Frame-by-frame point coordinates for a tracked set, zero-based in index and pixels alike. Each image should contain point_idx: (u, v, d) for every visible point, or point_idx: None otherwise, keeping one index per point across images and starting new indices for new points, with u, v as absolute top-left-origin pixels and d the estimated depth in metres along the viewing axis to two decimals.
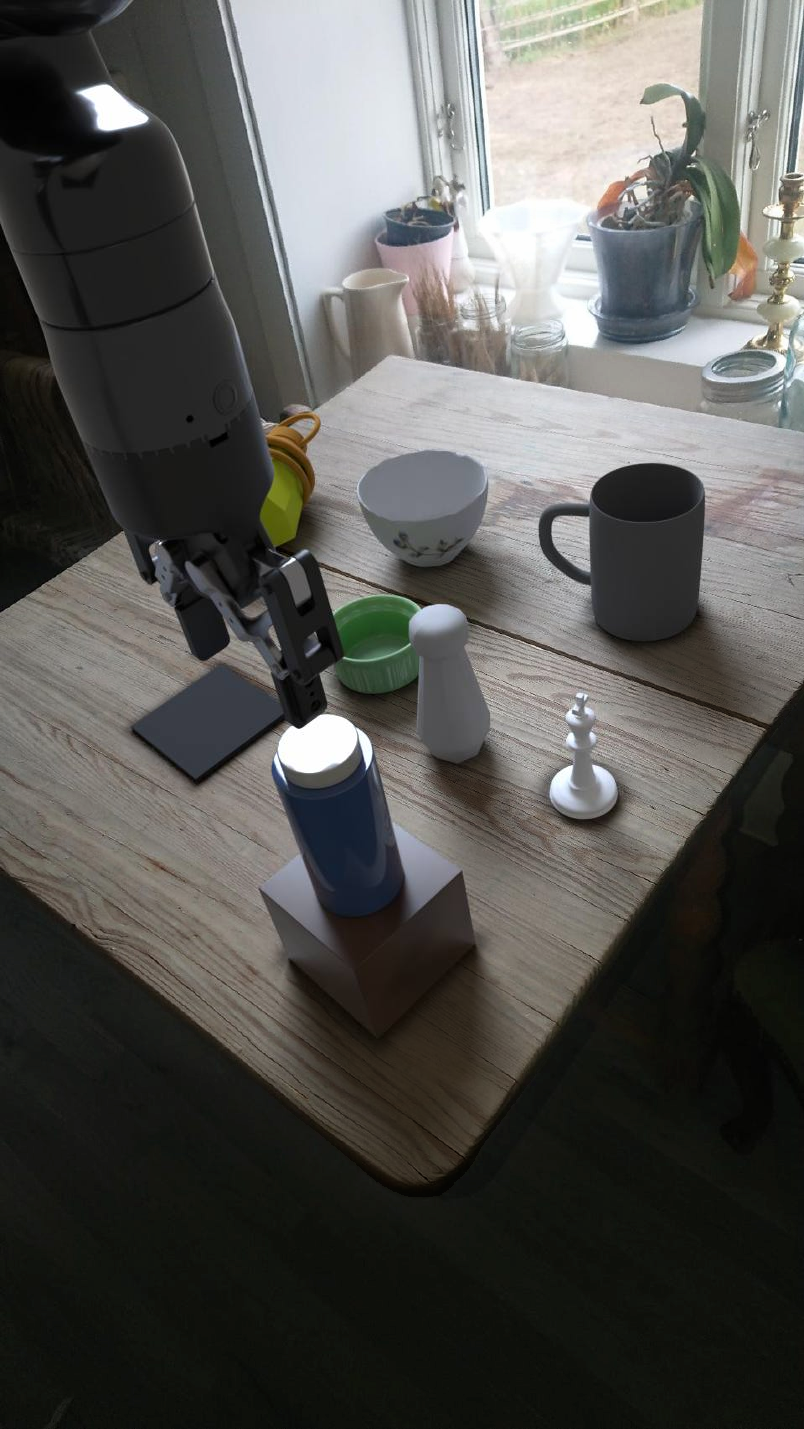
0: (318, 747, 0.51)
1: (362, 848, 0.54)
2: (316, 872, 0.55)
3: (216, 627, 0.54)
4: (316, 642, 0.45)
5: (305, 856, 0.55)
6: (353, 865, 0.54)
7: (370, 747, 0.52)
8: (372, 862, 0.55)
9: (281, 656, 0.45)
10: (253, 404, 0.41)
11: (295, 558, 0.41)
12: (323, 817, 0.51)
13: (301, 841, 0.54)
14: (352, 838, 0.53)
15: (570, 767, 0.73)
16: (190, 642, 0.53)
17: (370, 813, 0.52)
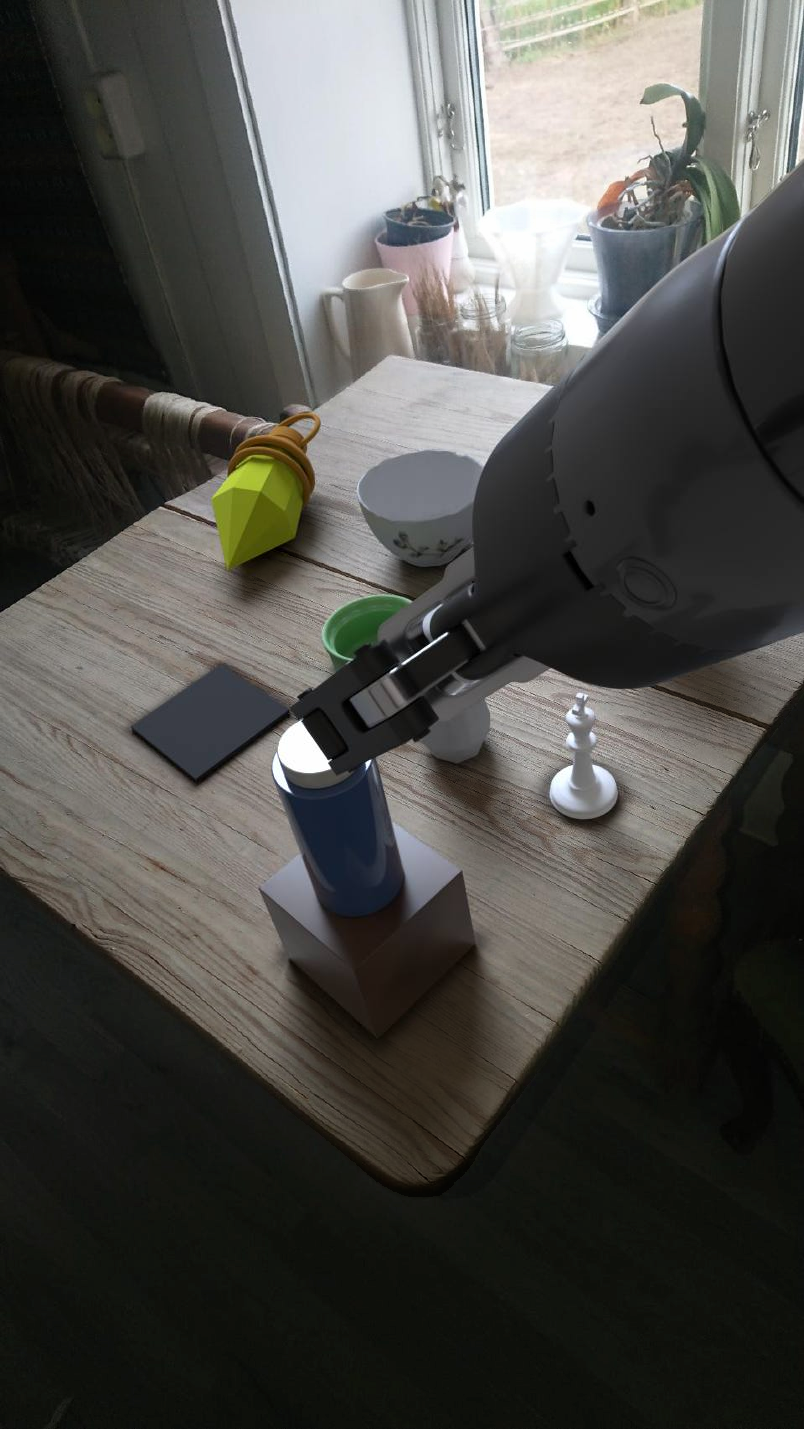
0: (318, 747, 0.51)
1: (362, 848, 0.54)
2: (316, 872, 0.55)
3: None
4: None
5: (305, 856, 0.55)
6: (353, 865, 0.54)
7: None
8: (372, 862, 0.55)
9: None
10: (681, 649, 0.20)
11: (410, 705, 0.24)
12: (323, 817, 0.51)
13: (301, 841, 0.54)
14: (352, 838, 0.53)
15: (570, 767, 0.73)
16: None
17: (370, 813, 0.52)
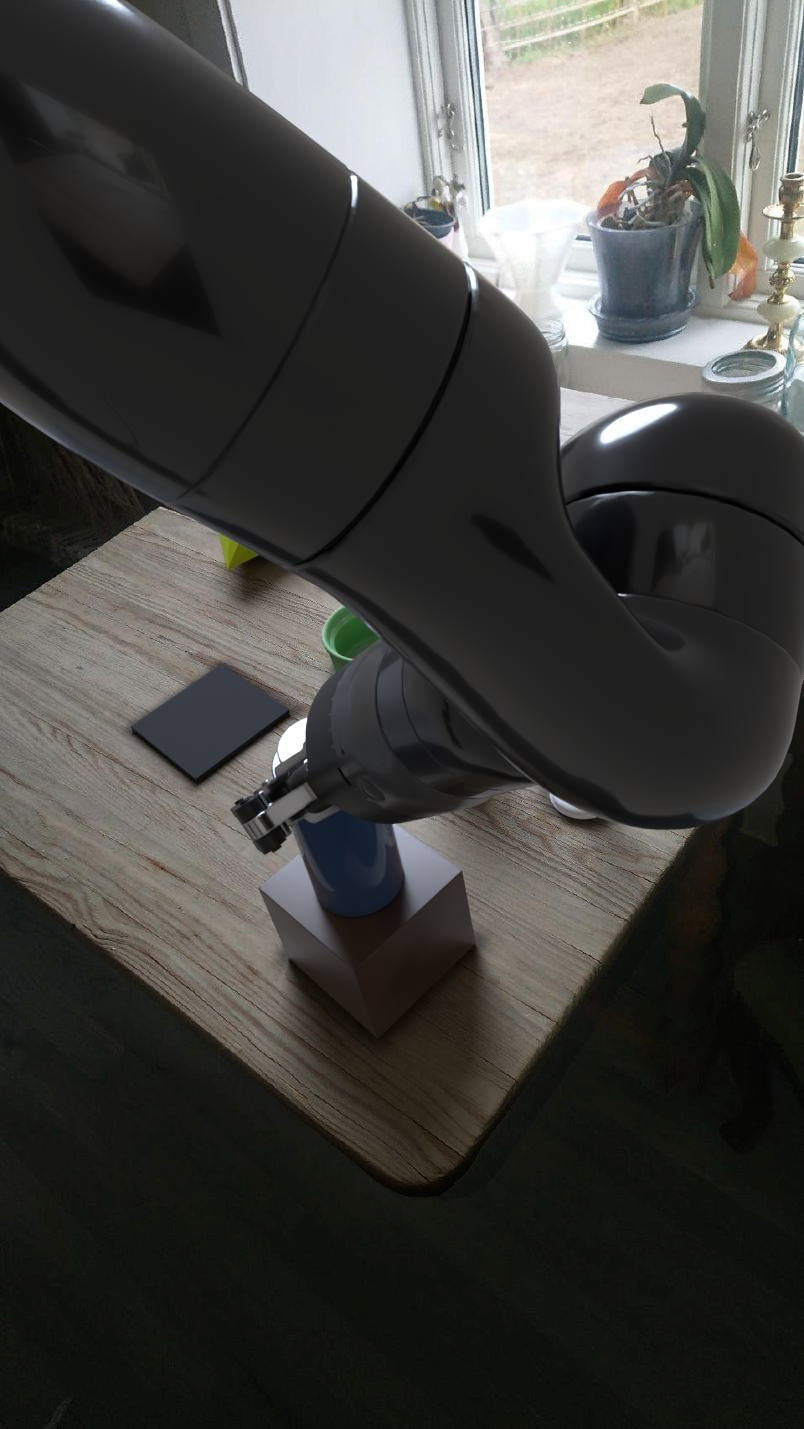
0: None
1: (362, 848, 0.54)
2: (316, 871, 0.55)
3: None
4: None
5: (305, 856, 0.55)
6: (353, 865, 0.54)
7: None
8: (372, 862, 0.55)
9: (266, 792, 0.49)
10: (401, 815, 0.39)
11: (265, 835, 0.43)
12: None
13: (301, 840, 0.54)
14: (352, 838, 0.53)
15: None
16: None
17: None
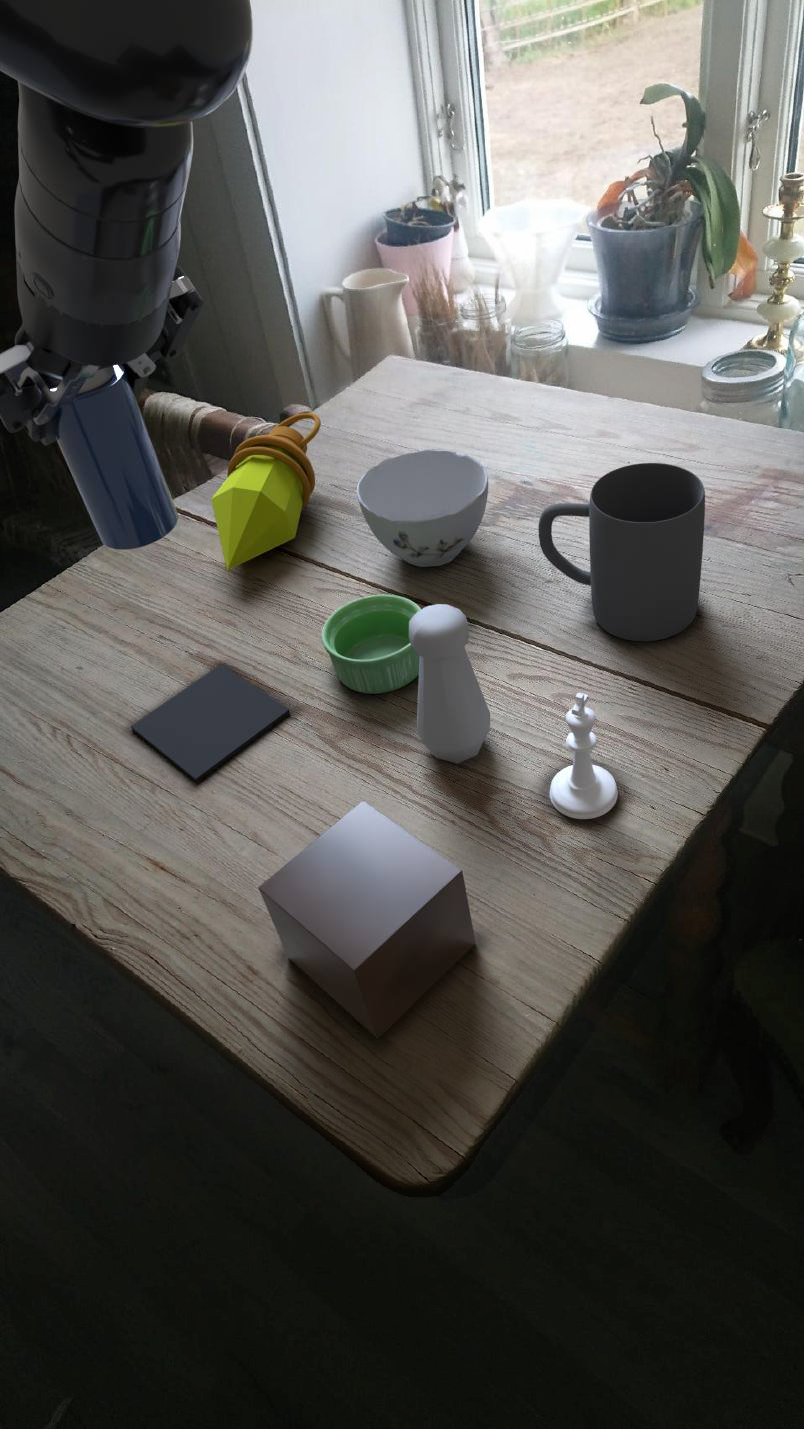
0: None
1: (120, 466, 0.62)
2: (87, 497, 0.64)
3: None
4: None
5: (77, 481, 0.64)
6: (115, 485, 0.63)
7: (122, 370, 0.61)
8: (133, 485, 0.63)
9: None
10: (78, 323, 0.48)
11: None
12: (78, 424, 0.60)
13: (69, 461, 0.62)
14: (109, 452, 0.61)
15: (570, 767, 0.73)
16: None
17: (123, 429, 0.61)
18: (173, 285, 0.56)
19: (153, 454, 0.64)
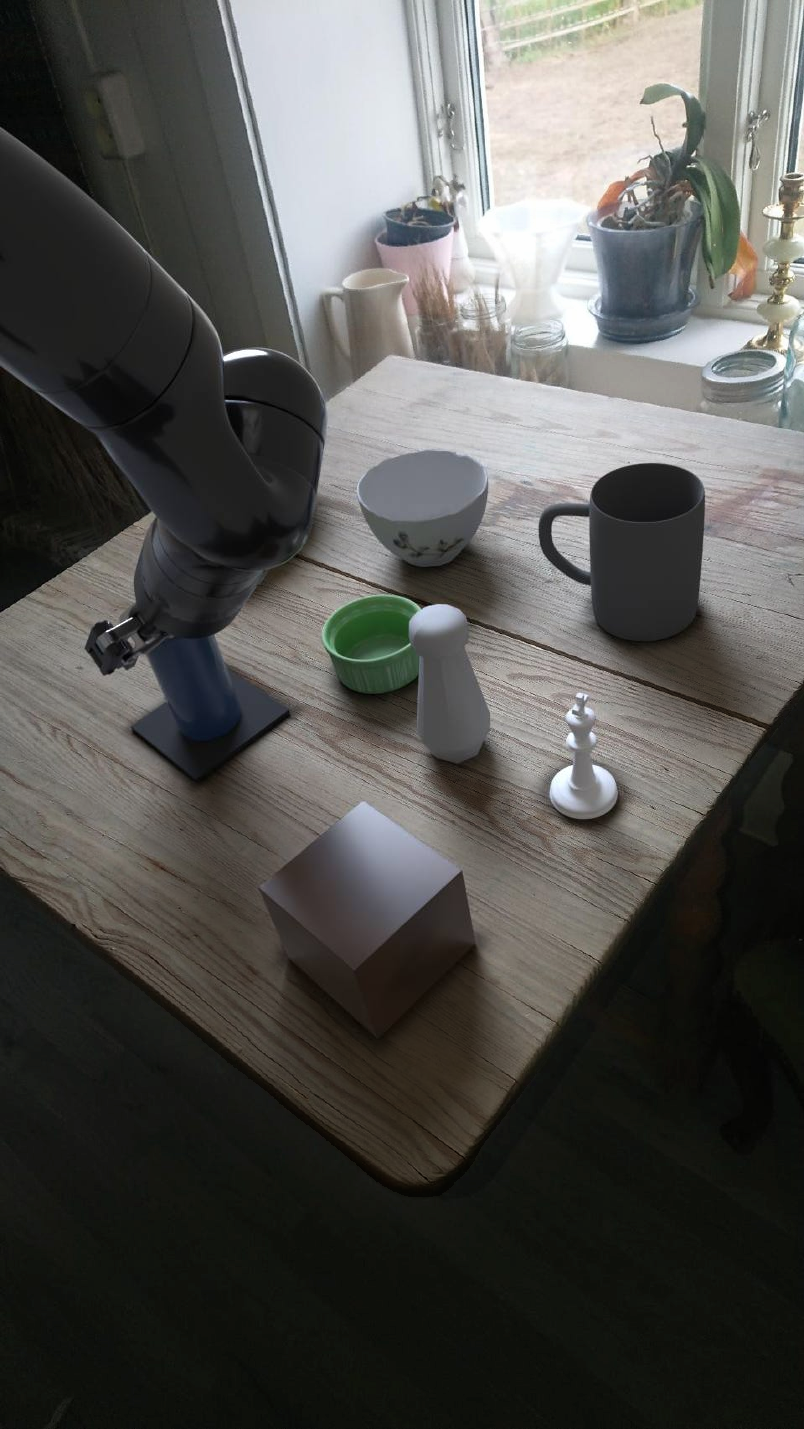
0: None
1: (201, 684, 0.78)
2: (172, 704, 0.80)
3: None
4: None
5: (164, 693, 0.79)
6: (196, 697, 0.78)
7: None
8: (210, 697, 0.79)
9: None
10: (185, 623, 0.63)
11: (112, 643, 0.66)
12: (169, 658, 0.75)
13: (159, 680, 0.78)
14: (192, 676, 0.77)
15: (570, 767, 0.73)
16: None
17: (204, 658, 0.77)
18: None
19: (224, 669, 0.80)
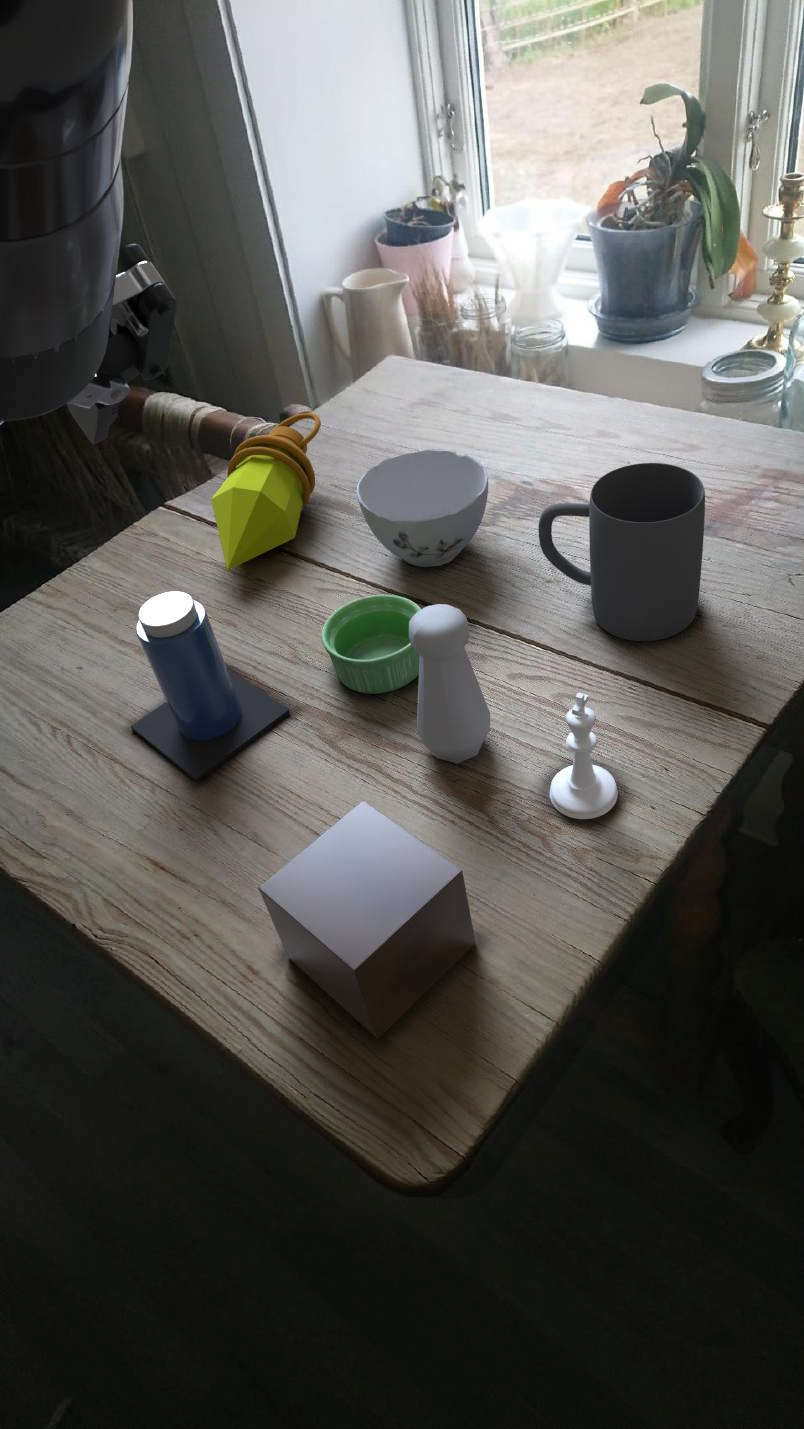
0: (165, 610, 0.75)
1: (201, 684, 0.78)
2: (172, 704, 0.80)
3: (88, 421, 0.43)
4: None
5: (164, 693, 0.79)
6: (196, 697, 0.78)
7: (203, 612, 0.76)
8: (210, 697, 0.79)
9: None
10: None
11: None
12: (169, 658, 0.75)
13: (159, 680, 0.78)
14: (192, 676, 0.77)
15: (570, 767, 0.73)
16: None
17: (204, 658, 0.77)
18: (125, 279, 0.35)
19: (224, 669, 0.80)
